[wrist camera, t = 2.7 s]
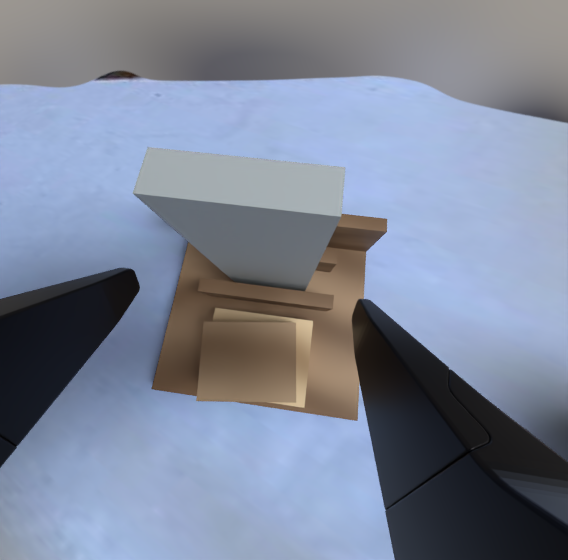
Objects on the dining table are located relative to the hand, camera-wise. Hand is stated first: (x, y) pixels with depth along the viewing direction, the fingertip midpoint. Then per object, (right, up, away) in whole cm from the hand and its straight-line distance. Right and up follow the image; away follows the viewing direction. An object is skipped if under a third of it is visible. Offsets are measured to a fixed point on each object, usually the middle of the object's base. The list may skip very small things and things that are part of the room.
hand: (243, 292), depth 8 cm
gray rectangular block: (0, +1, +10) cm, 10 cm away
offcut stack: (0, -5, +8) cm, 10 cm away
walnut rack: (0, -2, +10) cm, 11 cm away
